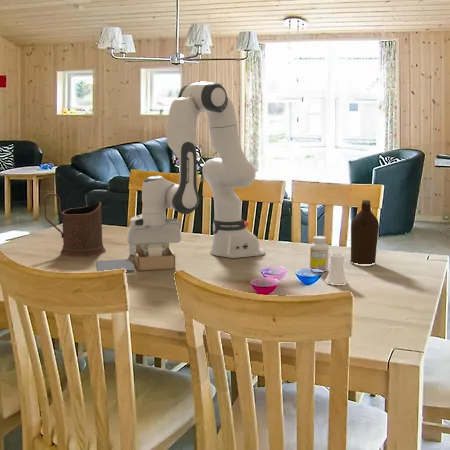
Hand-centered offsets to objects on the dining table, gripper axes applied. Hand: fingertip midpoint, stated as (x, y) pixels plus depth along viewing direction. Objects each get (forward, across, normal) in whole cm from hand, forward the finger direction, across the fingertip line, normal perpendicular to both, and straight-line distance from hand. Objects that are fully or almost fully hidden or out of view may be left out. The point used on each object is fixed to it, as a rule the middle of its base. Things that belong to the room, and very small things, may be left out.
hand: (154, 254), depth 232 cm
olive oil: (+4, -80, +14) cm, 81 cm away
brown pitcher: (+4, +29, -27) cm, 40 cm away
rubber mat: (+4, +15, 0) cm, 16 cm away
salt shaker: (+4, -59, +36) cm, 69 cm away
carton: (+4, 0, 0) cm, 4 cm away
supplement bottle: (+4, -59, +20) cm, 62 cm away
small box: (+4, +4, -20) cm, 21 cm away
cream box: (+4, 0, 0) cm, 4 cm away
